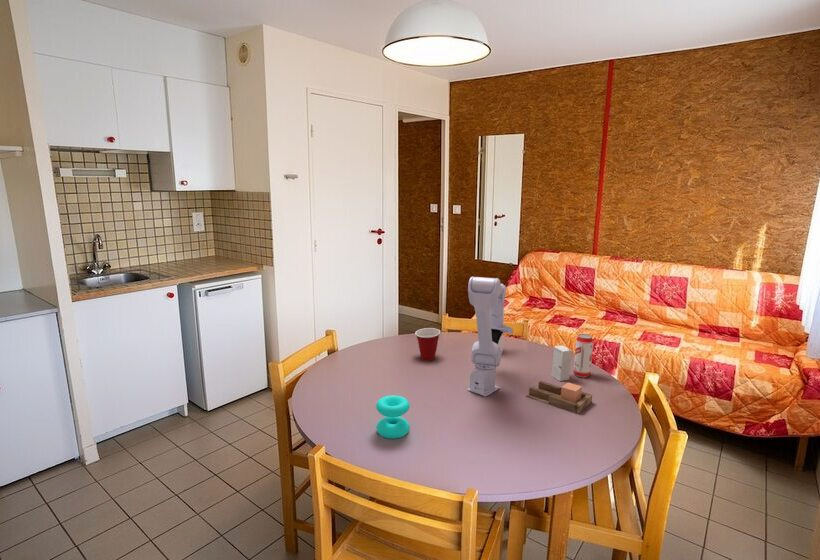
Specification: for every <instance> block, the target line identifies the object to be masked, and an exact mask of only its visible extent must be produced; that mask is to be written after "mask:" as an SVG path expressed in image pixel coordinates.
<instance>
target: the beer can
mask: <svg viewBox="0 0 820 560" xmlns="http://www.w3.org/2000/svg"><path fill="white" fill-rule="evenodd" d="M574 348H575V349H574V360H573V374H574V375H575V376H576V377H578V378H581V377H582V379H584V378H588V377H589V376H591V373H592V360H593V351H594V349H593V348H594V340H593V336H592V335H590V334H586V333H579V334H577V337H576V339H575V347H574Z"/></svg>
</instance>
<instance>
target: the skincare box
mask: <svg viewBox="0 0 820 560" xmlns="http://www.w3.org/2000/svg"><path fill="white" fill-rule="evenodd" d="M552 355H553V356H552V364H551V366H552V367H551V376H552V377H553V378H555V379H556V380H558V381H559V382H565V381H568V380H570V373H571V366H572V356H573V350H572V349H570V348H569V347H567V346H565V345H563V344H562V345H555V346H554V347H553V354H552ZM564 380H565V381H564Z"/></svg>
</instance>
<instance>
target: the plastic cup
mask: <svg viewBox="0 0 820 560" xmlns="http://www.w3.org/2000/svg"><path fill="white" fill-rule="evenodd" d="M414 335H415V337H416V339H417V343H418V349H419V353H420V358H421V360H423V361H428V360H429V361H433V360H435V358H436V352H437V348H438V343H439V337H440V335H441V330H440V329H438V328H434V327H424V328H420V329H417V330H416V331H415V333H414Z"/></svg>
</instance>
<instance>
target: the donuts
mask: <svg viewBox="0 0 820 560" xmlns="http://www.w3.org/2000/svg"><path fill="white" fill-rule="evenodd" d="M375 408H376V411H377V412H378V414H380V415H382V416H384V417H382V418H381V419H379V421H377V423H376V429H375V430H376V432H377V434H378V435H380V436H381V437H383V438H386V439H400V438H402V437H404V436H406V435H407V434H408V433H409V432H410V423H409V421H407V419H405V418H404V417H403V416H404V415H405V414H406V413H408V412H409V411H410V410H409V409H410V402H409V401H408V399H407V398H405V397H404V396H400V395H396V394H395V395H394V394H391V395H386V396H385V395H384V396H383V397H381V398H379V399H378V400H377V401H376V403H375Z"/></svg>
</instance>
